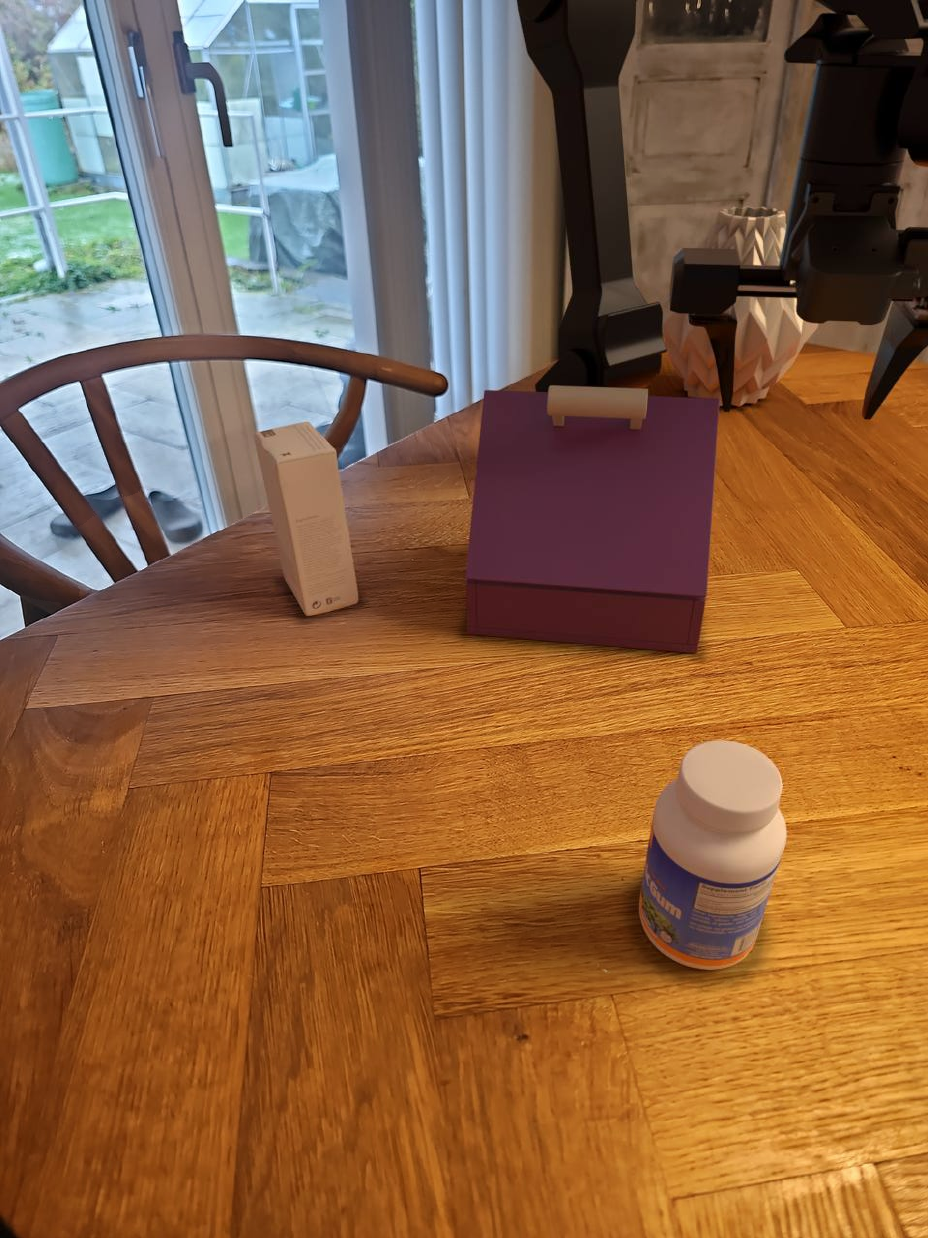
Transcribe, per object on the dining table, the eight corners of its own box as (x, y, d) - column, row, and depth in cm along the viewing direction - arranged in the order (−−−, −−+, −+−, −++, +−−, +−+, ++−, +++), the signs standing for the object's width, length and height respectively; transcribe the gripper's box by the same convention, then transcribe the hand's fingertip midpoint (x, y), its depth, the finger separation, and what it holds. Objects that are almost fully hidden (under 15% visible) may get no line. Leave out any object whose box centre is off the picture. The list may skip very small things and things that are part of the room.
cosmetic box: (361, 603, 62) (343, 448, 55) (302, 620, 60) (275, 463, 53) (334, 565, 66) (314, 417, 59) (278, 579, 65) (251, 430, 58)
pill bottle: (625, 878, 41) (644, 731, 36) (733, 869, 42) (769, 721, 36) (655, 981, 37) (682, 831, 31) (776, 969, 37) (824, 818, 32)
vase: (632, 374, 100) (647, 201, 89) (766, 365, 101) (797, 194, 90) (675, 427, 87) (699, 232, 76) (829, 416, 88) (873, 222, 77)
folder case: (494, 544, 68) (493, 497, 66) (690, 557, 66) (697, 509, 63) (467, 634, 58) (465, 583, 56) (696, 654, 56) (705, 601, 53)
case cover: (485, 392, 58) (475, 361, 53) (718, 401, 55) (730, 368, 50) (465, 580, 56) (453, 565, 51) (705, 597, 53) (716, 584, 49)
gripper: (689, 179, 44) (655, 454, 54) (1081, 182, 41) (975, 474, 50) (685, 150, 53) (657, 390, 62) (1008, 151, 50) (929, 404, 59)
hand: (795, 413), depth 58 cm, fingers open, 9 cm apart
